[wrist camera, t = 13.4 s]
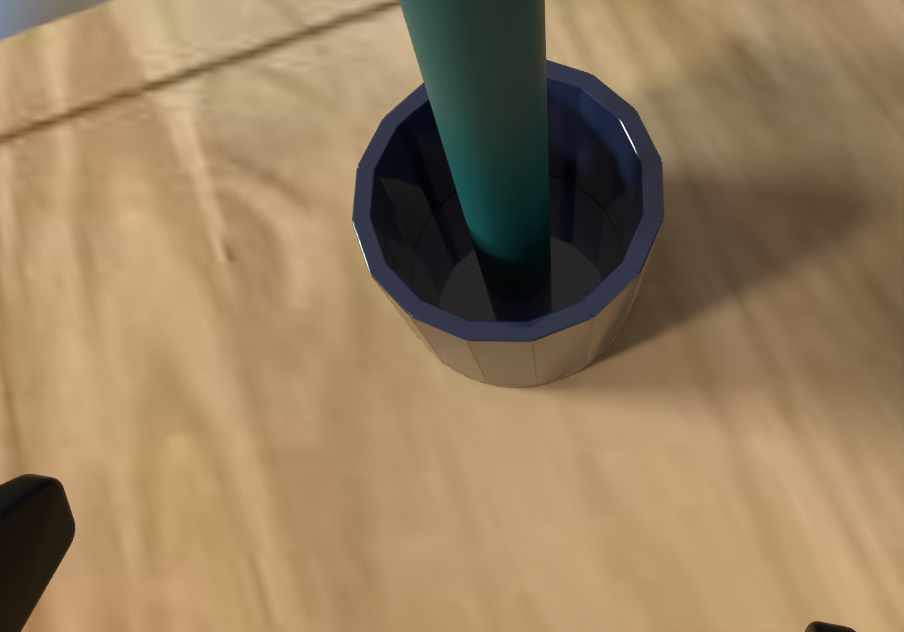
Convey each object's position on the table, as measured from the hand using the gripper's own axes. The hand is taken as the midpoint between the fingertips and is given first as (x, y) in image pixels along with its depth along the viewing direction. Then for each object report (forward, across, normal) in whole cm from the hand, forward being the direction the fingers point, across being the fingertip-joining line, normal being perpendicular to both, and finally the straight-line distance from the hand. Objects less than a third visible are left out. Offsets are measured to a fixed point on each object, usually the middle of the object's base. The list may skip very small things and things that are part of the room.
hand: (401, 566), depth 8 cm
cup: (+14, 0, +3) cm, 14 cm away
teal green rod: (+13, 0, +2) cm, 13 cm away
